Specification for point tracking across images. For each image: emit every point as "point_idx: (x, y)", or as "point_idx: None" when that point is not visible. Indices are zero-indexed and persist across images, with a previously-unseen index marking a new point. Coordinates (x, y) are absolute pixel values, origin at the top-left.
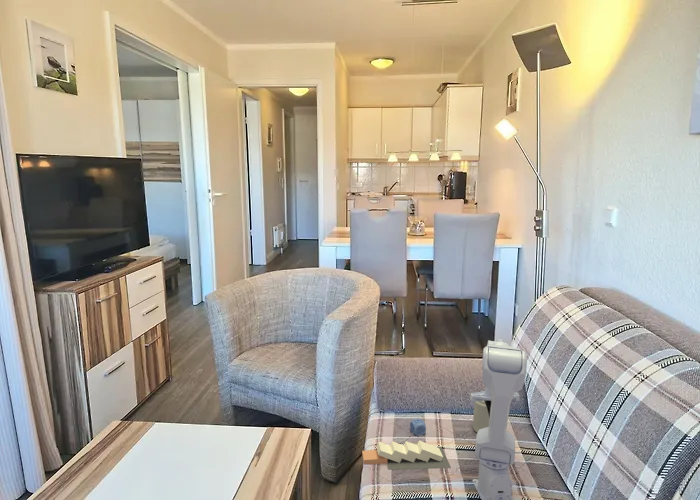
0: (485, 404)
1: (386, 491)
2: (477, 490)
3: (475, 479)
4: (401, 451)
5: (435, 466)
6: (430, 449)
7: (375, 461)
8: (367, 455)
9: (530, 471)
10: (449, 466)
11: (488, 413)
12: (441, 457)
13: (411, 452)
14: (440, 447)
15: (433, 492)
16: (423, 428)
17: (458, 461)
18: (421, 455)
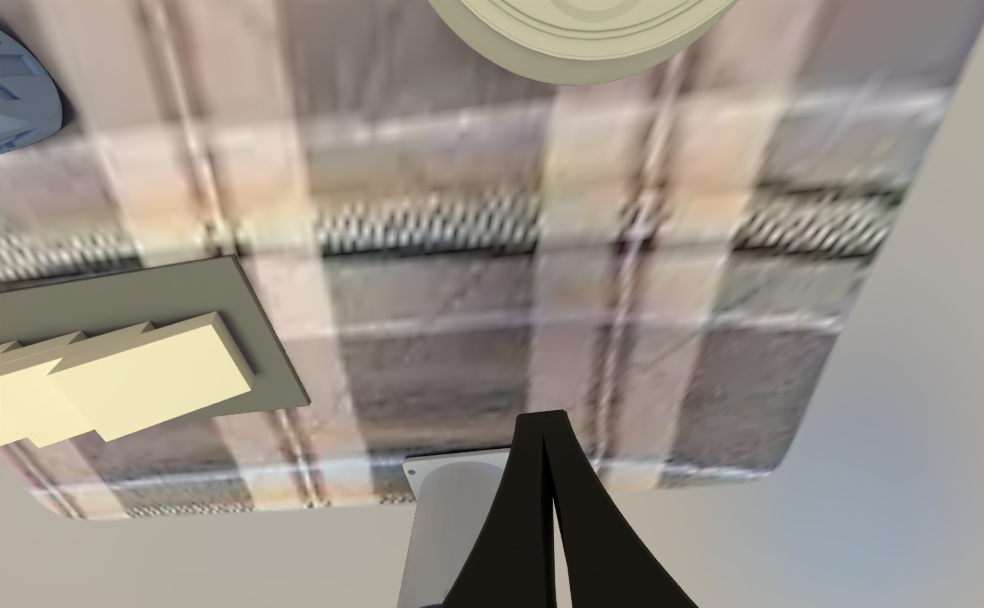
0: (560, 62)
1: (106, 510)
2: (417, 501)
3: (414, 463)
4: (14, 430)
5: (236, 404)
6: (157, 393)
7: None
8: None
9: (690, 386)
10: (300, 399)
11: (503, 475)
12: (242, 391)
13: (67, 435)
14: (224, 262)
15: (263, 504)
16: (7, 136)
17: (342, 354)
18: None
